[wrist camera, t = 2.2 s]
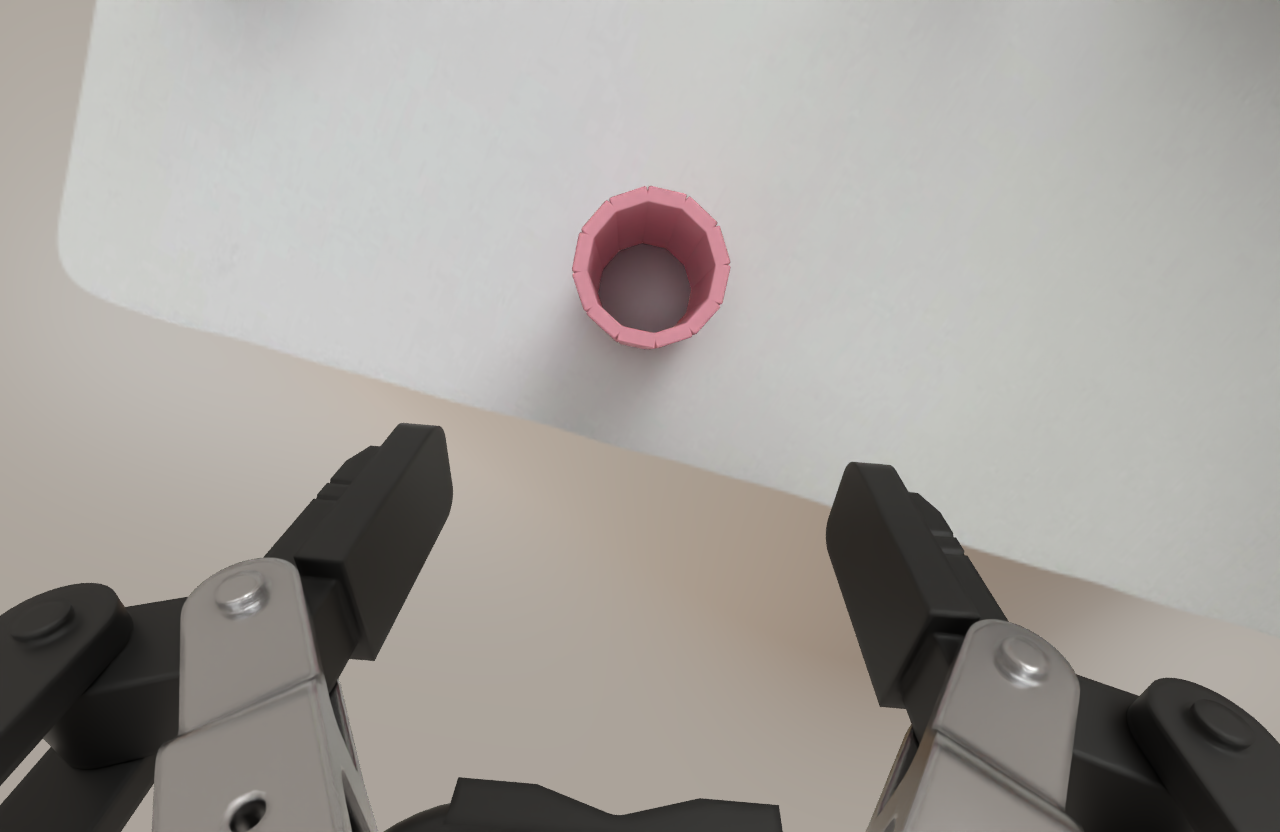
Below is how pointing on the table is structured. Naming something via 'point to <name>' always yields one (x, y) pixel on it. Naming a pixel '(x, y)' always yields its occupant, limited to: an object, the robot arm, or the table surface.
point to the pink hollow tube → (662, 225)
